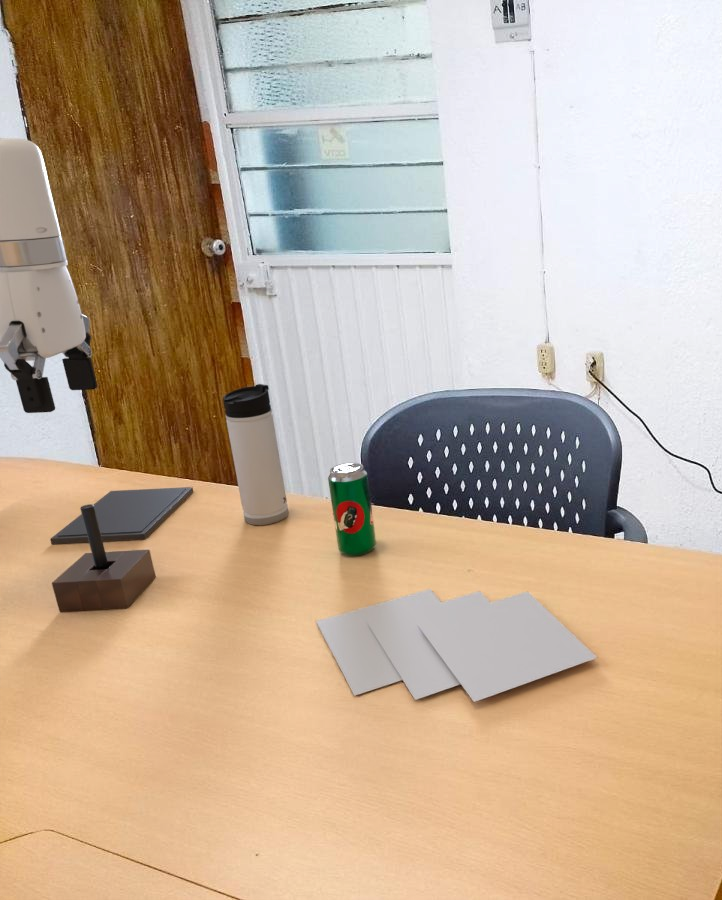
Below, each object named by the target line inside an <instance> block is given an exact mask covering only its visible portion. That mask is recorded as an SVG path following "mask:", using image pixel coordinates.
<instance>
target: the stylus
mask: <svg viewBox="0 0 722 900" xmlns="http://www.w3.org/2000/svg"><path fill="white" fill-rule="evenodd" d="M79 509H80V513H81V514H82V517H83V521H84V525H85V528H86V532H87V536H88V540H89V542H88V544H89V547H90V551H91V552H90V553H92V556H93V560H94V563H95V567H96V570H104V569H108V568H109V565H108V561H107V557H106V553H105V552H106V549H105V545H104V542H103V541H102V537H101V533H100V529H99V525H98V521H97V517H96V513H95V509H94V504H89V503H88V504H85V505H81V506H80V508H79Z"/></svg>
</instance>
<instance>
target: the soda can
mask: <svg viewBox="0 0 722 900" xmlns="http://www.w3.org/2000/svg"><path fill="white" fill-rule="evenodd" d="M368 476H369V475H368V472H367V471H366V469H365V468H364V465H363V464H362V463H358V462H345V463H340V464H336V465H333V467H331V468H330V469H329V475H328V478H327V481H328V487H329V494H330V501H331V502H330V503H331V508H332V509H331V510H332V515H333V521H334V522H333V523H334V528H335V537H336V542H337V548H338V551H339V552H340V553H341V554H343V555H345V556H347V557H348V556H349V557H356V556H363V555H366V554H368V553H370V552H372V551H373V550H374V548H375V546H376V545H377V538H376V537H377V536H376V530H375V523H374V515H373V507H372V500H371V491H370V485H369V477H368Z"/></svg>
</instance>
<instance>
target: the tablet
mask: <svg viewBox="0 0 722 900" xmlns="http://www.w3.org/2000/svg"><path fill="white" fill-rule="evenodd" d="M193 493H194V487H193V486H185V487H161V488H143V489H142V488H141V489H123V490H121V489H119V490H110V491H109V492H107V493H106V494H105V495H104V496H102V497H101V498H100V499H99V500H96V502H95V503H94V504H93V505H94V509H95V513H96V517H97V521H98V525H99V529H100V533H101V537H102V541H103V543H105V542H106V543H107V542H122V541H123V542H124V541H143V540H146V539H147V538H149V537H150V535H152V533H154V531H155V530H157V529H158V528H159V527H160V525H162V524H163V523H164V522H165V521H166V520H167V519H168V518H169V517H170V516H171V515H172V513H174V512H175V511H176V510H177V509H178V508H179V507H180V506H181V505H182V504H183V503H184V502H185V501H186V500H187V499H188V498H189V497H190V496H191V495H192V494H193ZM49 540H50V543H51V545H65V544H67V545H68V544H85V543H86V544H87V543H89V540H88V536H87V532H86V528H85V525H84V521H83V517H82V513H81V514H80V515H78V516H77V517H76V518H75V519H73V520H72V521H71V522H70V523H68V524H67V525H65V527H63V528H61V530H59V531H58V532H57V533H55V534H54V535H53V536H52V537H50V539H49Z"/></svg>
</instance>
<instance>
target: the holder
mask: <svg viewBox="0 0 722 900" xmlns="http://www.w3.org/2000/svg"><path fill="white" fill-rule="evenodd" d="M105 553H106V557H107V561H108V565H109V568H108V569H104V570H96V567H95V563H94V560H93V556H92V552H85V553H84V554H83V555H81V556H80V557H79V558H78V559H77V560H76V561H74V563H72V564H71V565H70V566H68V568H66V570H64V571H63V572H62V573H61V574H60V575H59V576H58V577H57V578H56V579H54V580H53V581H52V582H51V586H52V590H53V593H54V597H55V601H56V604H57V607H58V611H59V612H60V613H65V612H67V613H68V612H83V611H84V612H85V611H100V610H101V611H103V610H120V609H128V608H129V607H130V606H131V605H132V604H133V603H134V602H135V601H136V600H137V598H138V597H139V596H140V595H141V594H142V593H143V592H144V591H145V589H147V587H148V586H149V585H150V584H151V583H152V582H153V581H154V579H156V577H157V576H156V572H155V568H154V563H153V559H152V554H151V550H150V549H132V550H115V551H114V550H112V551H105Z"/></svg>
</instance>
